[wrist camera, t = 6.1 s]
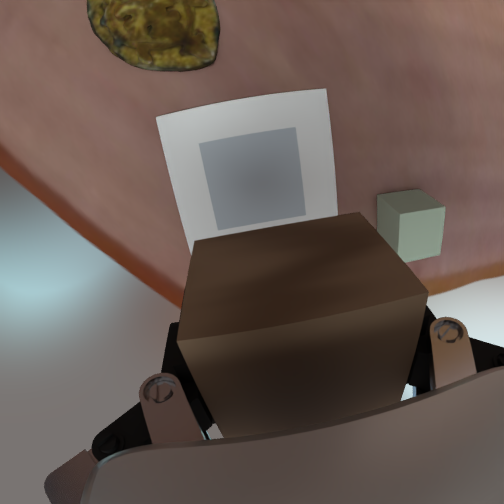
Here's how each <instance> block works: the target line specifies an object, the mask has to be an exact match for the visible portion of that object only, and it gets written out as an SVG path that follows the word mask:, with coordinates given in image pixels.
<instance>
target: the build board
mask: <svg viewBox="0 0 504 504" xmlns="http://www.w3.org/2000/svg"><path fill="white" fill-rule="evenodd" d="M156 121H157V125H158V129H159V134H160V138H161V142H162V146H163V151H164V155H165V159H166V163H167V167H168V171H169V175H170V179H171V183H172V187H173V191H174V194H175V198H176V202H177V206H178V210H179V213H180V217H181V221H182V224H183V228H184V231H185V235H186V239H187V242H188V246H189V249H190V253H191V256H192V250H193V245H194V241H195V240H201V239H206V238H212V237H217V236H222V235H228V234H233V233H239V232H245V231H250V230H256V229H261V228H267V227H273V226H278V225H284V224H290V223H296V222H302V221H308V220H313V219H319V218H325V217H331V216H338V209H337V192H336V178H335V166H334V155H333V144H332V134H331V125H330V116H329V108H328V100H327V92H326V89H311V90H301V91H292V92H283V93H275V94H268V95H261V96H254V97H248V98H242V99H236V100H230V101H225V102H220V103H214V104H209V105H205V106H200V107H195V108H191V109H186V110H182V111H178V112H174V113H170V114H166V115H162V116H158V117H156Z"/></svg>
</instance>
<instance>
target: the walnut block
mask: <svg viewBox="0 0 504 504" xmlns="http://www.w3.org/2000/svg"><path fill="white" fill-rule="evenodd" d="M428 293H429V292H428V290H427V289H426V288H425V287H424V285H423V284H422V283H421V282H420V280H419V279H418V278H417V277H416V276H415V274H414V273H413V272H412V271H411V270H410V268H409V267H408V266H407V265H406V264H405V262H404V261H403V260H402V259H401V258H400V257H399V255H398V254H397V253H396V252H395V251H394V250H393V249H392V247H391V246H390V245H389V244H388V243H387V242H386V241H385V240H384V238H383V237H382V236H381V235H380V234H379V233H378V232H377V231H376V230H375V229H374V227H373V226H372V225H371V224H370V223H369V222H368V221H367V220H366V219H365V218H364V217H363V216H362V215H361V213H360V212H356V213H350V214H344V215H338V216H331V217H325V218H319V219H313V220H308V221H302V222H296V223H290V224H284V225H278V226H273V227H267V228H261V229H256V230H250V231H245V232H239V233H233V234H228V235H222V236H217V237H212V238H206V239H201V240H195V241H194V245H193V250H192V256H191V261H190V266H189V271H188V277H187V282H186V288H185V293H184V299H183V305H182V311H181V317H180V323H179V329H178V335H177V343H178V346H179V348H180V350H181V352H182V355H183V357H184V359H185V361H186V363H187V366H188V368H189V370H190V372H191V374H192V376H193V378H194V380H195V382H196V385H197V387H198V389H199V391H200V393H201V395H202V397H203V399H204V401H205V403H206V405H207V407H208V409H209V411H210V413H211V415H212V417H213V418H214V420H215V422H216V424H217V426H218V428H219V430H220V432H221V433H222V435H223V437H224V438H230V437H239V436H247V435H255V434H262V433H269V432H275V431H281V430H287V429H292V428H298V427H303V426H308V425H313V424H318V423H323V422H327V421H331V420H336V419H340V418H344V417H348V416H352V415H356V414H359V413H363V412H367V411H370V410H374V409H377V408H381V407H384V406H387V405H391V404H394V403H397V402H400V401H401V398H402V394H403V392H404V388H405V385H406V382H407V379H408V376H409V372H410V369H411V365H412V362H413V358H414V355H415V351H416V347H417V343H418V339H419V335H420V331H421V327H422V322H423V318H424V313H425V308H426V303H427V299H428Z"/></svg>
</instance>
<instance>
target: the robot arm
mask: <svg viewBox="0 0 504 504" xmlns="http://www.w3.org/2000/svg"><path fill="white" fill-rule="evenodd" d="M184 293H185V291H184ZM183 299H184V297H183ZM182 305H183V302H182ZM181 311H182V308H181ZM180 317H181V315H180ZM179 323H180V320H179V322H175V323H171V324H170V327H169V332H168V337H167V342H166V348H165V354H164V359H163V365H162V370H161V373H159V374H155V375H153V376H151V377H149V378H148V379H146V380H145V381H144V383H143V384H142V385H141V387H140V390H139V398H140V402H139V403H137V404H136V405H135V406H134V407H133V408H131V409H130V410H129V411H127V412H126V413H125V414H123V415H122V416H121V417H119V418H118V419H117V420H115V421H114V422H113V423H111V424H110V425H109V426H108V427H106V428H105V429H103V430H102V431H101V432H100V433H99V434H97V435H96V437H95V438H94V440H93V443H92V449H90V450H89V451H87V450H86V449H85V450H83V451H82V452H80V453H79V454H77V455H76V456H75V457H73V458H72V459H70V460H69V461H67V462H66V463H65V464H63V465H62V466H60V467H59V468H57V469H56V470H54V471H53V472H51V473H50V474H49V475H48V476H47V478H46V480H45V482H44V489H45V493H46V495H47V496H48V498H49V500H50V502H51V504H504V348H503V347H500V346H497V345H493V344H490V343H487V342H483V341H480V340H477V339H473V338H470V337H469V336H468V332H467V329H466V327H465V326H464V324H463V323H462V322H460V321H459V320H457V319H454V318H451V317H442V318H438V319H436V317H435V316H434V315H433V313H432V312H431V311H430V309H429V308H428V306H427V305H426V308H425V313H424V318H423V322H422V327H421V331H420V335H419V339H418V343H417V347H416V351H415V355H414V358H413V362H412V365H411V369H410V372H409V376H408V379H407V382H406V384H409V385H412V386H413V397H412V398H409V399H406V400H403V401H400V402H397V403H394V404H391V405H387V406H384V407H381V408H377V409H374V410H370V411H367V412H363V413H359V414H356V415H352V416H348V417H344V418H340V419H336V420H331V421H327V422H323V423H318V424H313V425H308V426H303V427H298V428H292V429H287V430H281V431H275V432H269V433H262V434H255V435H247V436H239V437H230V438H220V439H211V438H210V436H209V434H208V432H207V430H208V429H209V428H210V427H211V426H212V424H214V423H216V422H215V420H214V418H213V417H212V415H211V413H210V411H209V409H208V407H207V405H206V403H205V401H204V399H203V397H202V395H201V393H200V391H199V389H198V387H197V385H196V382H195V380H194V378H193V376H192V374H191V372H190V370H189V368H188V366H187V363H186V361H185V359H184V357H183V355H182V352H181V350H180V348H179V346H178V343H177V335H178V329H179Z"/></svg>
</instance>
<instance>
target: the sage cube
mask: <svg viewBox="0 0 504 504" xmlns="http://www.w3.org/2000/svg"><path fill="white" fill-rule="evenodd" d="M445 208H446V207H445V206H444V205H442V204H441V203H439V202H438V201H437V200H435V199H434V198H432V197H431V196H429V195H428V194H426V193H425V192H423V191H422V190H420V189H415V190H407V191H400V192H393V193H385V194H378V195H377V232H378V233H379V234H380V235H381V236H382V237H383V238H384V240H385V241H386V242H387V243H388V244H389V245H390V246H391V247H392V249H393V250H394V251H395V252H396V253H397V254H398V255H399V257H400V258H401V259H402V260H403V261H404V262H410V261H415V260H419V259H423V258H428V257H432V256H437V255H440V252H441V244H442V237H443V228H444V219H445Z"/></svg>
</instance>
